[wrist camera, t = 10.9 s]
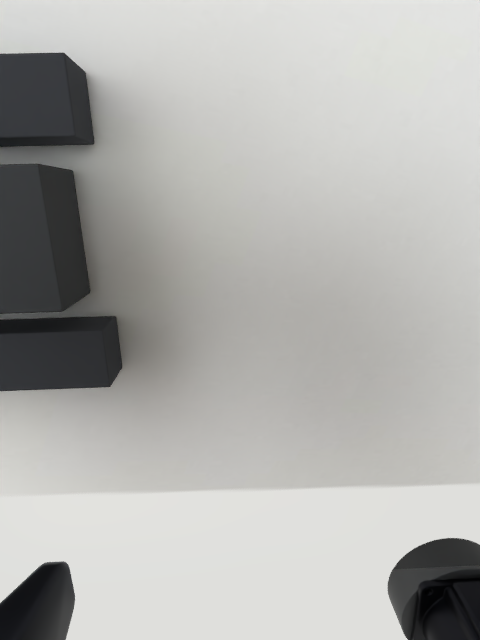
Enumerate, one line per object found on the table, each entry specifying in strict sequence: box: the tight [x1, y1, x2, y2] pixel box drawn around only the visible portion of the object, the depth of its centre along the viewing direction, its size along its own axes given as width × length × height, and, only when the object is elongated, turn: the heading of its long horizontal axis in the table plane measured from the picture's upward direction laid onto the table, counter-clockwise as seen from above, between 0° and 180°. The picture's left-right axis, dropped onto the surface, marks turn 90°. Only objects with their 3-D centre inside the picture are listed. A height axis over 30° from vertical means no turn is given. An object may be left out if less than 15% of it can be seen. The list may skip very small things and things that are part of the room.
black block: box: [0, 164, 90, 314], centre depth 15 cm, size 5×5×3 cm
